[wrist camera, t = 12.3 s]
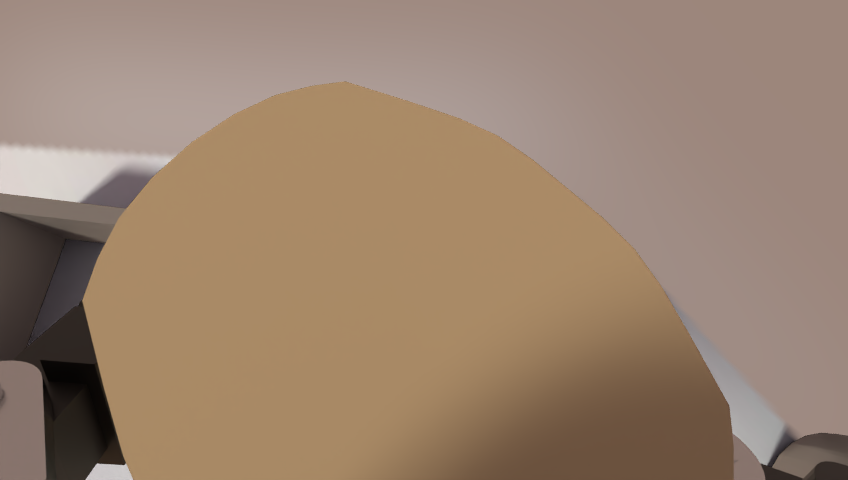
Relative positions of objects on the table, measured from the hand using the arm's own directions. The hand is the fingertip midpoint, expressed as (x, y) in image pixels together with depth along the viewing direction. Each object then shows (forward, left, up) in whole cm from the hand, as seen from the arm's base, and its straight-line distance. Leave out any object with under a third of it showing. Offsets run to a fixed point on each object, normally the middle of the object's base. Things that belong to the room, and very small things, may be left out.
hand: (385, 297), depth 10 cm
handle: (0, +1, -9) cm, 10 cm away
